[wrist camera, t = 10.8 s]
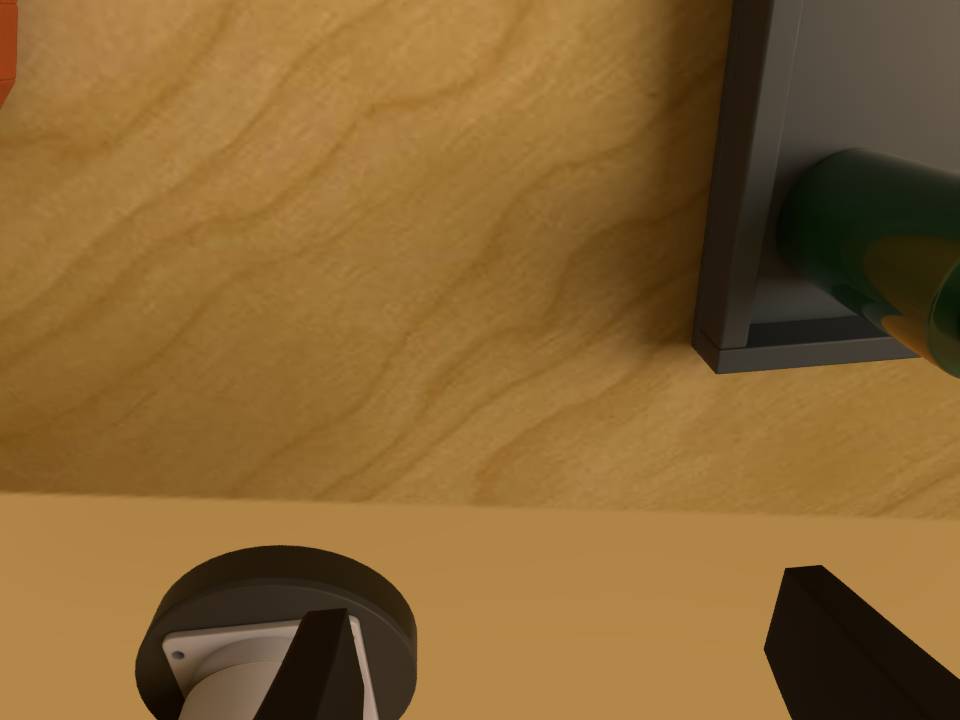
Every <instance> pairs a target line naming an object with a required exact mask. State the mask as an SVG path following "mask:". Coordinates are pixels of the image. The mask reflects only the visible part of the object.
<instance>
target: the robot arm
mask: <svg viewBox="0 0 960 720" xmlns="http://www.w3.org/2000/svg"><path fill="white" fill-rule="evenodd" d="M162 648H163V650H164V652H165V655H166V657H167V659H168V662H169V664H170V666H171V669H172V671H173V673H174V676H175V678H176V680H177V683H178V685H179V687H180V689H181V692H182V694H183V696H184V699H185V703H184V705H183V708H182V711H181V714H180V717H179V719H178V720H379V717H378V712H377V707H376V702H375V697H374V692H373V687H372V682H371V677H370V672H369V668H368V663H367V658H366V653H365V648H364V643H363V638H362V633H361V628H360V623H359V620H358V619H357V618H356V617H355V616H352V615H348V611H347V608H342V609H331V610H320V611H309V612H308V613H307V614H306V615H305V616H304V617H303V618H302V619H298V620H288V621H278V622H268V623H258V624H248V625H238V626H228V627H218V628H208V629H198V630H188V631H178V632H172V633H169V634H167V635H166V637H165V639H164V641H163V643H162ZM764 651H765V654H766V656H767V659H768V662H769V664H770V667H771V670H772V672H773V674H774V677H775V680H776V683H777V685H778V688H779V690H780V692H781V694H782V697H783V699H784V701H785V704H786V707H787V709H788V711H789V714H790V716H791V718H792V720H960V679H959V678H957V677H956V676H955V675H953V674H952V673H951V672H950V671H949V670H947V669H946V668H945V667H944V666H942V665H941V664H940V663H939V662H937V661H936V660H935V659H934V658H933V657H931V656H930V655H929V654H928V653H926V652H925V651H924V650H923V649H922V648H920V647H919V646H918V645H917V644H915V643H914V642H913V641H912V640H911V639H909V638H908V637H907V636H906V635H905V634H903V633H902V632H901V631H900V630H899V629H897V628H896V627H895V626H894V625H893V624H891V623H890V622H889V621H888V620H886V619H885V618H884V617H883V616H882V615H881V614H880V613H878V612H877V611H876V610H875V609H874V608H872V607H871V606H870V605H869V604H867V602H865V601H864V600H863V599H862V598H860V597H859V596H858V595H857V594H856V593H855V592H853V591H852V590H851V589H850V588H849V587H847V586H846V585H845V584H844V583H843V582H841V581H840V580H839V579H838V578H837V577H836V576H834V575H833V574H832V573H831V572H829V571H828V570H827V569H826V568H825V567H823V566H822V565H816V566H804V567H794V568H785V571H784V575H783V579H782V582H781V586H780V590H779V594H778V597H777V601H776V605H775V609H774V613H773V617H772V620H771V624H770V628H769V631H768V635H767V638H766V642H765V646H764Z"/></svg>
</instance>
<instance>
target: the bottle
mask: <svg viewBox="0 0 960 720" xmlns="http://www.w3.org/2000/svg"><path fill="white" fill-rule="evenodd" d="M777 243H778V248H779V252H780V255H781V257H782V259H783V261H784V263H785V264H786V265H787V267H788V268H789V269H790V270H791V271H792V272H793V273H794V274H796V275H797V276H799V277H800V278H802V279H804V280H805V281H807V282H808V283H810V284H811V285H813V286H814V287H816V288H817V289H819V290H820V291H822V292H823V293H825V294H827V295H828V296H830V297H831V298H833V299H834V300H836V301H837V302H839V303H840V304H842V305H843V306H845V307H846V308H848V309H849V310H851V311H853V312H854V313H856V314H857V315H859V316H860V317H862V318H863V319H865V320H866V321H868V322H869V323H871V324H872V325H874V326H876V327H877V328H879V329H880V330H882V331H883V332H885V333H886V334H888V335H889V336H891V337H892V338H894V339H895V340H897V341H899V342H900V343H902V344H903V345H905V346H906V347H908V348H909V349H911V350H912V351H914V352H915V353H917V354H918V355H920V356H921V357H923V358H925V359H926V360H928V361H929V362H931V363H932V364H934V365H935V366H937V367H938V368H940V369H941V370H943V371H944V372H946V373H948V374H949V375H951V376H953V377H956V378H958V379H960V171H958V170H954V169H950V168H946V167H942V166H939V165H935V164H931V163H927V162H923V161H919V160H916V159H912V158H908V157H904V156H900V155H896V154H893V153H889V152H885V151H881V150H877V149H871V148H858V149H851V150H847V151H844V152H841V153H838V154H836V155H833V156H831V157H829V158H827V159H825V160H823V161H822V162H820V163H819V164H817V165H816V166H814V167H813V168H812V169H811V170H810V171H808V172H807V173H806V174H805V175H804V176H803V177H802V178H801V179H800V180H799V182H798V183H797V184H796V185H795V187H794V188H793V189H792V191H791V192H790V194H789V196H788V197H787V199H786V201H785V203H784V205H783V208H782V210H781V213H780V217H779V221H778V227H777Z"/></svg>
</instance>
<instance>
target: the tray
mask: <svg viewBox="0 0 960 720" xmlns="http://www.w3.org/2000/svg"><path fill="white" fill-rule="evenodd" d="M858 148H871V149H877V150H881V151H885V152H889V153H893V154H896V155H900V156H904V157H908V158H912V159H916V160H919V161H923V162H927V163H931V164H935V165H939V166H942V167H946V168H950V169H954V170H958V171H960V0H734V4H733V12H732V20H731V28H730V36H729V44H728V52H727V60H726V68H725V77H724V85H723V93H722V101H721V109H720V117H719V125H718V133H717V141H716V149H715V157H714V165H713V173H712V181H711V189H710V198H709V206H708V214H707V222H706V230H705V238H704V246H703V254H702V262H701V270H700V278H699V286H698V294H697V302H696V310H695V319H694V327H693V335H692V343H691V346H692V347H693V348H694V350H695V351H697V353H698V354H699V355H700V356H701V357H702V358H703V360H704V361H705V362H706V363H707V364H708V365H709V367H710V368H711V369H712V370H713V371H714V372H715V374H727V373H739V372H751V371H763V370H775V369H787V368H799V367H810V366H822V365H834V364H846V363H858V362H870V361H882V360H894V359H906V358H918V357H921V356H920V355H918V354H917V353H915V352H914V351H912V350H911V349H909V348H908V347H906V346H905V345H903V344H902V343H900V342H899V341H897V340H895V339H894V338H892V337H891V336H889V335H888V334H886V333H885V332H883V331H882V330H880V329H879V328H877V327H876V326H874V325H872V324H871V323H869V322H868V321H866V320H865V319H863V318H862V317H860V316H859V315H857V314H856V313H854V312H853V311H851V310H849V309H848V308H846V307H845V306H843V305H842V304H840V303H839V302H837V301H836V300H834V299H833V298H831V297H830V296H828V295H827V294H825V293H823V292H822V291H820V290H819V289H817V288H816V287H814V286H813V285H811V284H810V283H808V282H807V281H805V280H804V279H802V278H800V277H799V276H797V275H796V274H794V273H793V272H792V271H791V270H790V269H789V268H788V267H787V265H786V264H785V263H784V261H783V259H782V257H781V255H780V252H779V248H778V243H777V227H778V221H779V217H780V213H781V210H782V208H783V205H784V203H785V201H786V199H787V197H788V196H789V194H790V192H791V191H792V189H793V188H794V187H795V185H796V184H797V183H798V182H799V180H800V179H801V178H802V177H803V176H804V175H805V174H806V173H807V172H808V171H810V170H811V169H812V168H813V167H814V166H816V165H817V164H819V163H820V162H822V161H823V160H825V159H827V158H829V157H831V156H833V155H836V154H838V153H841V152H844V151H847V150H851V149H858Z"/></svg>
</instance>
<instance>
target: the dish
mask: <svg viewBox="0 0 960 720" xmlns="http://www.w3.org/2000/svg"><path fill="white" fill-rule="evenodd" d="M16 3H17V0H0V108H1V107H2V105H3V103H4V101H5V99H6V97H7V96H8V94H9V92H10V90H11V88H12V87H13V85H14V83H15V80H14V79H15V78H16V64H17V26H18V7H17V5H16Z"/></svg>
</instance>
